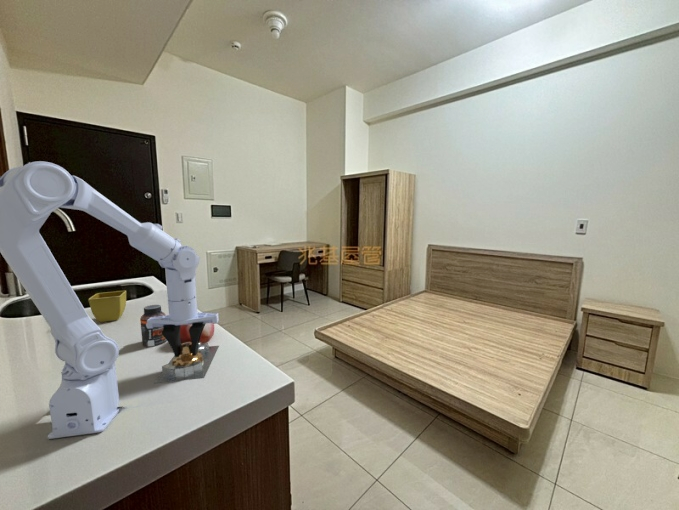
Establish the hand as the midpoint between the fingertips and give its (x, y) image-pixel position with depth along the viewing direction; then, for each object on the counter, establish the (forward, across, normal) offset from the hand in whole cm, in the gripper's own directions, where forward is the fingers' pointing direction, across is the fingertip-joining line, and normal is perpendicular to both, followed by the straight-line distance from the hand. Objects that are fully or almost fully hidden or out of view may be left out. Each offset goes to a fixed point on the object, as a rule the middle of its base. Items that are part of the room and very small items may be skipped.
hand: (186, 354), depth 67 cm
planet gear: (+3, 0, 0) cm, 3 cm away
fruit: (+4, +2, -15) cm, 16 cm away
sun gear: (+3, 0, -7) cm, 8 cm away
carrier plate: (+4, 0, -2) cm, 5 cm away
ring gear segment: (+3, 0, +4) cm, 5 cm away
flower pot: (+4, +37, -42) cm, 56 cm away
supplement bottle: (+4, +13, -16) cm, 21 cm away
